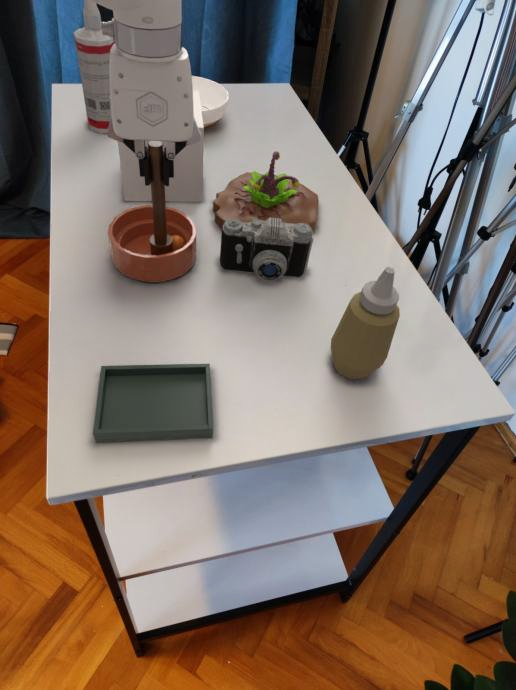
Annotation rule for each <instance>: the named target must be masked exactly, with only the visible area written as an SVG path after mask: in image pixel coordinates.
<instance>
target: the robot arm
mask: <svg viewBox="0 0 516 690" xmlns="http://www.w3.org/2000/svg"><path fill="white" fill-rule="evenodd" d="M92 1H94V2H96V4H97V5H99V6H102V7H104V8H105V9H108V10H111V11H112V13H113V14H112V15H113V17H111V20H107V21H101V28H102V35H106V36H109V37H113V40H114V41H115V44H114V45H113V46H112V48H111V50H110V59H109V83H110V100H111V113H112V117H111V121H110V124H109V127H108V131H107V133H106V136H107V137H108V138H110V140H111V139H112V140H114V141H116V142H118V141H119V142H122V143H124V144H125V145H126V146H127V147H128V148H129V149H130V150H131V151H133V152H134V153H135V155H136V157H137V158H138V159H139V171H140V177H145V186H149V185H150V184H151V178H150V164H149V154H148V148H147V147H146V146H145V140H146V141H166V147H165V148H164V151H163V174H164V185H165V186H169V178H174V159H175V156H176V155H177V154H178V153H179V152H180V151H181V150H183V149H184V148H185V147H186V146H187V145H191V144H194V143H197V142H199V141H200V140H201V133H200V130H199V128H198V125H197V123H196V121H195V118H194V108H193V87H192V76H193V75H192V68H191V62H190V57H189V54H188V50H187V49H186V48H185V47H184V46H183V26H182V25H183V22H182V21H183V18H182V17H183V14H182V13H183V10H182V9H183V8H182V5H183V4H182V0H92Z"/></svg>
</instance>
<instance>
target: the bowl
mask: <svg viewBox="0 0 516 690" xmlns="http://www.w3.org/2000/svg"><path fill="white" fill-rule="evenodd" d="M192 87H193V91H199V97H200V104H201V111H202V118H203V126H204V128H207V127H208V126H211V125H213V124H215V123H216V122H217V121H219V120H220V119H221V118H223V116H224V115H225V113H226V111H227V108H228V105H229V99H230V94H229V92H228V90H227V89H226V87H224V86H223V85H221V84H220V83H218V82H216V81H213V80H212V79H208V78H205V77H201V76H197V75H196V76H195V75H192ZM202 106H205V107H207V108H208V109H209V110H208V109H206V108H204V107H202Z"/></svg>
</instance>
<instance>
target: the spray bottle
mask: <svg viewBox="0 0 516 690" xmlns="http://www.w3.org/2000/svg"><path fill="white" fill-rule="evenodd" d="M82 15H83V16H82V17H83V27H82V28H78V29H77V30H75V31H73V37H74V43H75V49H76V50H75V51H76V56H77V62H78V68H79V75H80V81H81V88H82V94H83V99H84V106H85V112H86V118H87V124H88V128H89V130H91V131H94V132H96V133H99V134H107V131H108V127H109V124H110V121H111V117H112V113H111V100H110V83H109V59H110V50H111V48H112V46H113V45H114V44H115V41H114V40H113V37H109V36H106V35H102V28H101V22H102V17H101V13H100V10H99V7H98V3H96V2H94V1H92V0H83V9H82Z"/></svg>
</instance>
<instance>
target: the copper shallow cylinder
mask: <svg viewBox="0 0 516 690" xmlns="http://www.w3.org/2000/svg"><path fill="white" fill-rule="evenodd" d="M166 222H167V234H168V235H170V236H173V235H178V236H181V237H182V238H183V239H184V241H185V246H184V247H182V248H181V249H179V250H176V251H174V252H172V253H168V254H163V255H151V253H150V237H151V236H152V235H154V225H153V211H152V204H146V205H140V206H139V205H138V206H134V207H131V208H129V209H126V210H123V211H122V212H120V213H119V214H118V215H116V216H115V217H114V218H112V220H111V222H110V223H109V225H108V231H107V237H108V244H109V250H110V255H111V260H112V263H113V265H114V267H115V268H116V269H117V270H118V271H119V272H121V273H122V274H123V275H125V276H127V277H128V278H130V279H133V280H138V281H142V282H147V283H148V282H150V283H154V282H155V283H156V282H159V283H161V282H164V281H170V280H174V279H176V278H179V277H182V276H183V275H185V274H186V273H187V272H188V271H189V270H191V269H192V268H193V266H194V264H195V262H196V260H197V226H196V225H195V223H194V221H193V219H192V218H191V217H190V216H188V215H187V214H186V213H185V212H182V211H181V210H179V209H177V208H173V207H169V206H166Z"/></svg>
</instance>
